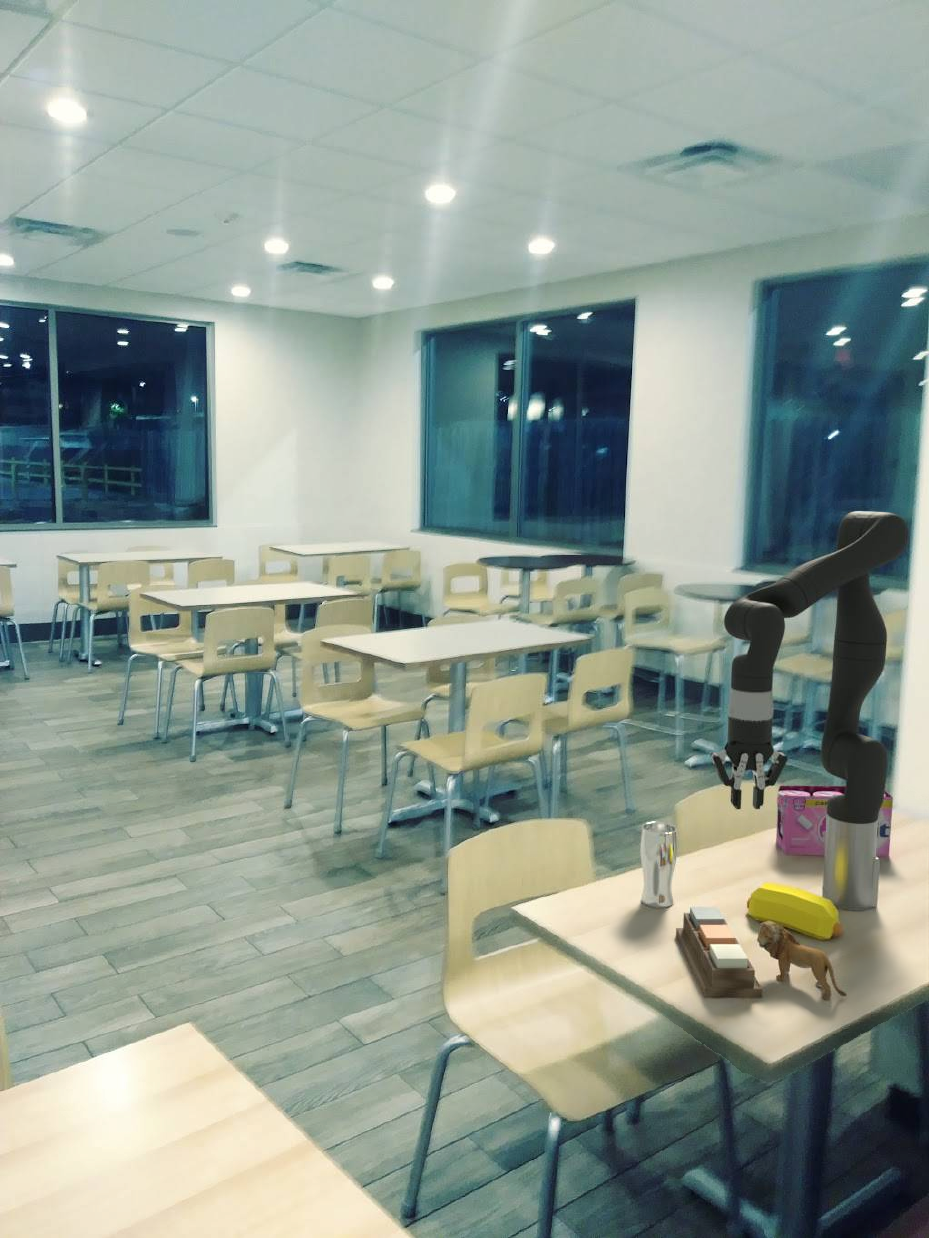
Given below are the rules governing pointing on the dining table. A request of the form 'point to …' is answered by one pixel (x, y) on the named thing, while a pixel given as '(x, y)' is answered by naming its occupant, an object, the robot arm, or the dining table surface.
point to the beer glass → (658, 863)
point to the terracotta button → (716, 935)
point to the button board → (712, 978)
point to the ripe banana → (795, 910)
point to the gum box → (818, 819)
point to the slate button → (706, 916)
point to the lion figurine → (795, 955)
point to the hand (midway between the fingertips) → (746, 807)
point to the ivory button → (728, 956)
